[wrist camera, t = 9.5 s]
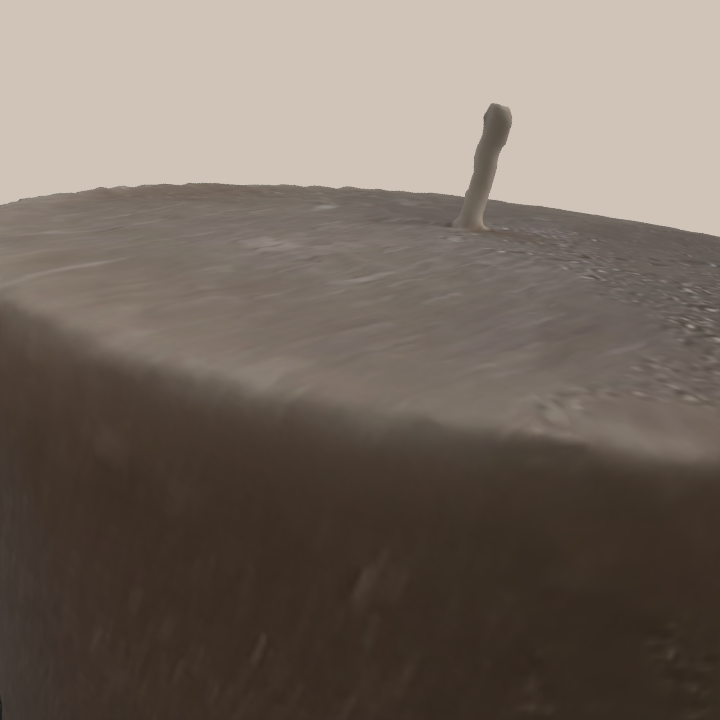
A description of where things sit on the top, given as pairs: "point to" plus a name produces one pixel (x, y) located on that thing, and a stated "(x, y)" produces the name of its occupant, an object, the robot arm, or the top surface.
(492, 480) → the pillar candle
